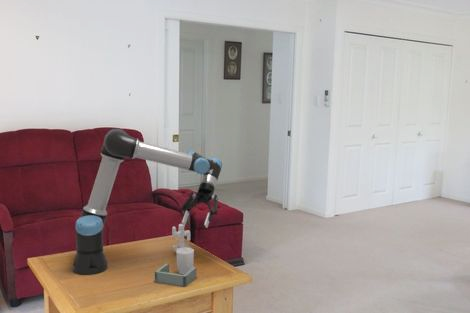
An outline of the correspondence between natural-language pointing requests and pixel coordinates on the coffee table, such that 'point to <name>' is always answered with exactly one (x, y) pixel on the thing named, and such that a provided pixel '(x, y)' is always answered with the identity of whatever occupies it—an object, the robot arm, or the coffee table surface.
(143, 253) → the coffee table surface
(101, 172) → the robot arm
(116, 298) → the coffee table surface
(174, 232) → the figurine
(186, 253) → the white cup
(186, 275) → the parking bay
